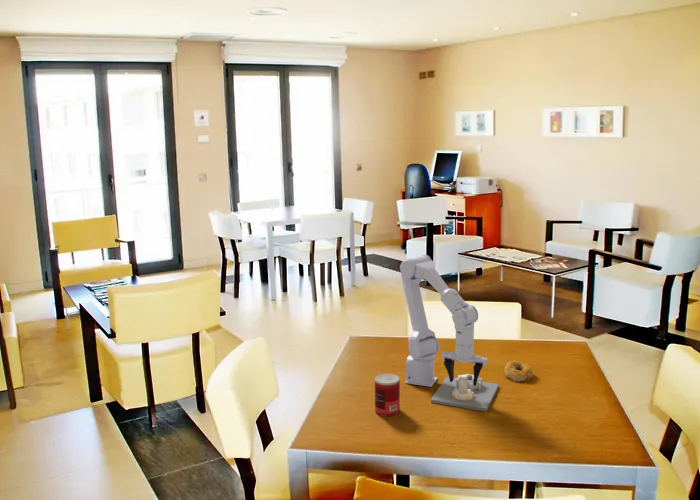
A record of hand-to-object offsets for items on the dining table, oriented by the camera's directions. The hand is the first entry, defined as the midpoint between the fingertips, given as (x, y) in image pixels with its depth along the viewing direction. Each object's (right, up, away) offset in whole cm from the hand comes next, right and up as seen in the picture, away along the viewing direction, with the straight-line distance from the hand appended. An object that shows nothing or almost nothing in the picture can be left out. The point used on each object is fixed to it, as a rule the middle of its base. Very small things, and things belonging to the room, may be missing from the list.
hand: (463, 382), depth 210 cm
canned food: (-25, -8, -7) cm, 27 cm away
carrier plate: (+1, -5, +4) cm, 7 cm away
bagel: (+23, -2, +19) cm, 29 cm away
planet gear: (0, -4, +1) cm, 4 cm away
